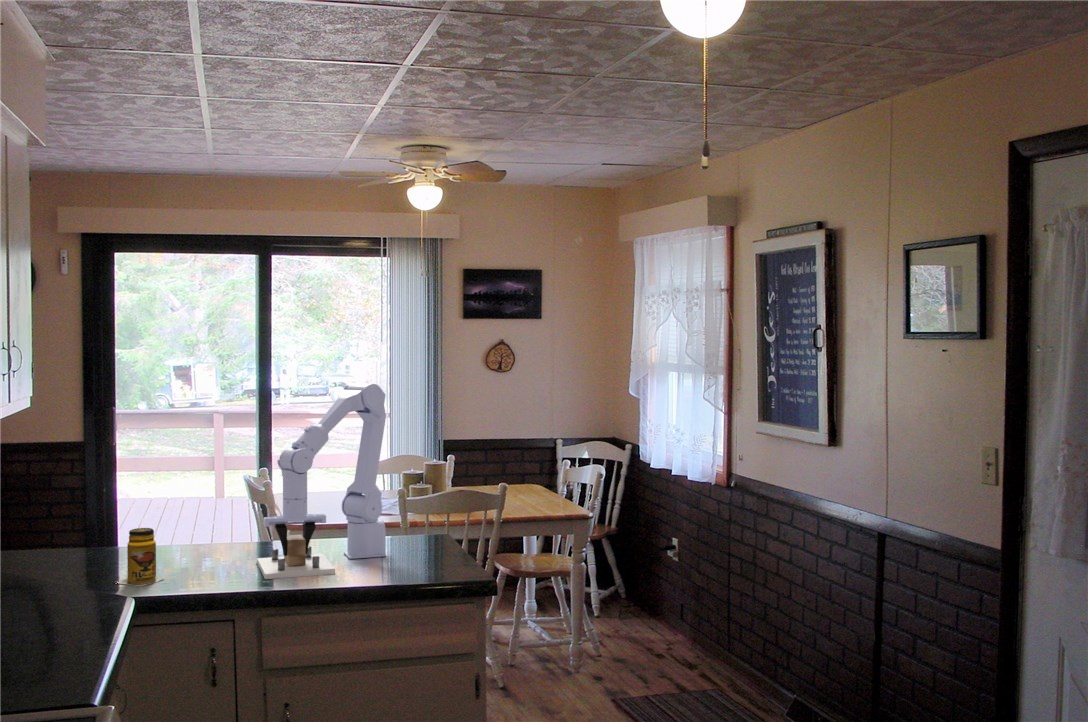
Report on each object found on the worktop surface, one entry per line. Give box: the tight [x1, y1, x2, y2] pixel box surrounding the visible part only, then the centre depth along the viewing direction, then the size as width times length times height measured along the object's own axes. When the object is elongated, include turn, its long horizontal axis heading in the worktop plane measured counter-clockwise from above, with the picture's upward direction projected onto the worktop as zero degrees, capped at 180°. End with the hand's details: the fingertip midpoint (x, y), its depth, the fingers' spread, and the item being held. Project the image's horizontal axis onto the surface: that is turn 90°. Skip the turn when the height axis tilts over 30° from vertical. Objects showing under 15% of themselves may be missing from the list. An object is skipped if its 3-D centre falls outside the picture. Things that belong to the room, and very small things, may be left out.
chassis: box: [256, 546, 336, 580], centre depth 245 cm, size 16×18×4 cm
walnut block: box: [283, 534, 306, 566], centre depth 246 cm, size 4×8×6 cm, turn 22°
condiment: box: [116, 527, 165, 587], centre depth 231 cm, size 7×8×12 cm
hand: (295, 554), depth 245 cm, fingers closed on walnut block, 4 cm apart
